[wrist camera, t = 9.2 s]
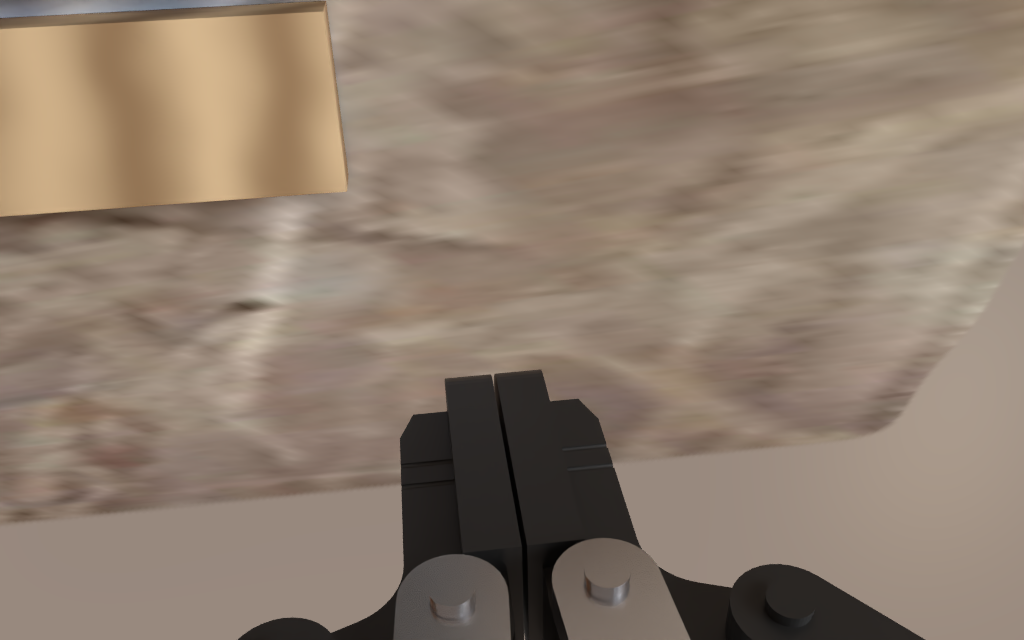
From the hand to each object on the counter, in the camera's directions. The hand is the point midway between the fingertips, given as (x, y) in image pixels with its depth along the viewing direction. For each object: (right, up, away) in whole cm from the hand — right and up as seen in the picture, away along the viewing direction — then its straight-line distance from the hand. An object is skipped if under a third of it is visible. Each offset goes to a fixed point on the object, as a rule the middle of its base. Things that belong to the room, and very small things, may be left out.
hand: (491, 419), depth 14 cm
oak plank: (-15, +11, +25) cm, 31 cm away
